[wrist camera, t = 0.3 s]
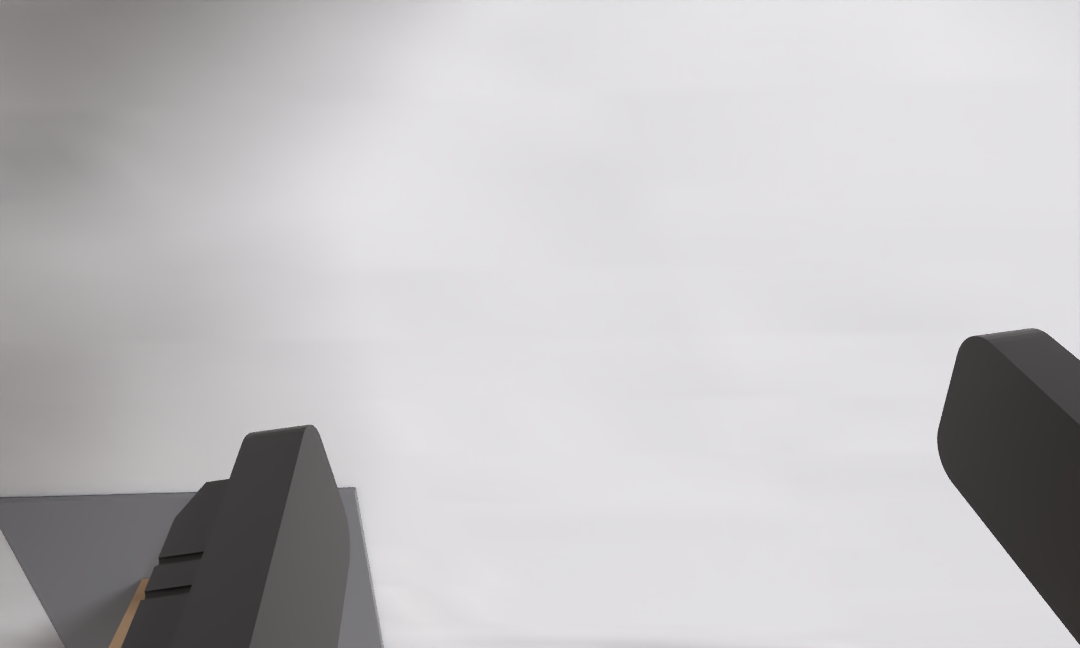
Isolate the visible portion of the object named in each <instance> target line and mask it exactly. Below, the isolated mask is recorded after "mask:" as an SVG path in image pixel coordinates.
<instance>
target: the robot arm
mask: <svg viewBox="0 0 1080 648" xmlns="http://www.w3.org/2000/svg"><path fill="white" fill-rule="evenodd" d="M937 443H938V451H939V456H940V459H941V462H942V465H943V467H944V470H945V472H946V474H947V475H948V477H949V479H950V480H951V482H952V483H953V484H954V485H955V487H956V488H957V489H958V490H959V492H960V493H961V494H962V496H963V497H964V498H965V499H966V501H967V502H968V503H969V504H970V506H971V507H972V508H973V510H974V511H975V512H976V513H977V515H978V516H979V517H980V518H981V520H982V521H983V522H984V524H985V525H986V526H987V527H988V529H989V530H990V531H991V532H992V534H993V535H994V536H995V538H996V539H997V540H998V541H999V543H1000V544H1001V545H1002V546H1003V548H1004V549H1005V550H1006V552H1007V553H1008V554H1009V555H1010V557H1011V558H1012V559H1013V560H1014V562H1015V563H1016V564H1017V566H1018V567H1019V568H1020V569H1021V571H1022V572H1023V573H1024V574H1025V576H1026V577H1027V578H1028V580H1029V581H1030V582H1031V583H1032V585H1033V586H1034V587H1035V588H1036V590H1037V591H1038V592H1039V594H1040V595H1041V596H1042V597H1043V599H1044V600H1045V601H1046V602H1047V604H1048V605H1049V606H1050V608H1051V609H1052V610H1053V611H1054V613H1055V614H1056V615H1057V616H1058V618H1059V619H1060V620H1061V622H1062V623H1063V624H1064V625H1065V627H1066V628H1067V629H1068V630H1069V632H1070V633H1071V634H1072V636H1073V637H1074V638H1075V639H1076V641H1077V642H1078V643H1079V644H1080V360H1079V359H1077V358H1076V357H1075V356H1074V355H1072V354H1071V353H1070V352H1069V351H1068V350H1066V349H1065V348H1064V347H1063V346H1061V345H1060V344H1059V343H1058V342H1057V341H1055V340H1054V339H1053V338H1052V337H1050V336H1049V335H1048V334H1046V333H1045V332H1043V331H1041V330H1039V329H1034V328H1031V329H1022V330H1015V331H1007V332H1000V333H993V334H986V335H978V336H972V337H969V338H967V339H966V340H965V341H964V342H963V343H962V344H961V346H960V348H959V351H958V354H957V357H956V361H955V365H954V369H953V373H952V377H951V381H950V385H949V389H948V393H947V397H946V401H945V405H944V408H943V412H942V416H941V420H940V424H939V428H938V435H937ZM158 559H159V565H157V566H155V567H154V569H153V571H152V574H151V576H150V579H149V581H148V583H147V586H146V588H145V591H144V592H145V599H144V600H140V603H139V605H138V608H137V610H136V612H135V615H134V617H133V620H132V622H131V625H130V627H129V629H128V632H127V634H126V637H125V639H124V641H123V644H122V646H121V648H337V647H338V640H339V633H340V626H341V619H342V612H343V605H344V598H345V591H346V585H347V578H348V571H349V563H350V534H349V526H348V520H347V516H346V512H345V509H344V506H343V503H342V500H341V497H340V494H339V491H338V488H337V485H336V482H335V479H334V476H333V473H332V470H331V467H330V464H329V461H328V458H327V455H326V452H325V449H324V446H323V443H322V440H321V437H320V435H319V433H318V431H317V429H316V428H315V427H314V426H313V425H304V426H297V427H289V428H282V429H275V430H267V431H260V432H253V433H249V434H248V435H246V437H245V438H244V440H243V442H242V445H241V448H240V451H239V453H238V456H237V459H236V462H235V465H234V468H233V470H232V473H231V476H230V479H226V480H219V481H212V482H206V483H205V484H204V485H203V487H202V488H201V489H200V490H199V491H198V492H197V493H196V494H195V496H194V497H193V498H192V499H191V500H190V501H189V502H188V504H187V505H186V506H185V507H184V508H183V509H182V510H181V511H180V513H179V514H178V515H177V516H176V517H175V518H174V521H173V523H172V526H171V528H170V530H169V533H168V535H167V538H166V540H165V542H164V545H163V547H162V550H161V552H160V554H159V557H158Z"/></svg>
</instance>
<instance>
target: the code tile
mask: <svg viewBox="0 0 1080 648" xmlns="http://www.w3.org/2000/svg"><path fill="white" fill-rule="evenodd" d="M338 491H339V494H340V497H341V500H342V503H343V506H344V509H345V512H346V516H347V520H348V526H349V534H350V563H349V571H348V578H347V585H346V591H345V598H344V605H343V612H342V619H341V626H340V633H339V640H338V647H337V648H384V647H383V641H382V636H381V630H380V624H379V618H378V613H377V607H376V601H375V596H374V590H373V584H372V578H371V573H370V567H369V561H368V555H367V550H366V544H365V538H364V533H363V527H362V521H361V515H360V510H359V504H358V498H357V492H356V488H338ZM196 493H197V492H193V493H159V494H125V495H91V496H57V497H23V498H0V529H1V530H2V532H3V534H4V536H5V538H6V540H7V541H8V543H9V545H10V547H11V549H12V551H13V552H14V554H15V556H16V558H17V560H18V562H19V563H20V565H21V567H22V569H23V571H24V573H25V574H26V576H27V578H28V580H29V582H30V584H31V585H32V587H33V589H34V591H35V593H36V595H37V596H38V598H39V600H40V602H41V604H42V606H43V607H44V609H45V611H46V613H47V615H48V617H49V618H50V620H51V622H52V624H53V626H54V628H55V629H56V631H57V633H58V635H59V637H60V639H61V640H62V642H63V644H64V646H65V648H109V646H110V644H111V642H112V640H113V638H114V635H115V633H116V631H117V629H118V627H119V625H120V623H121V621H122V619H123V617H124V615H125V613H126V611H127V609H128V607H129V605H130V603H131V601H132V599H133V597H134V595H135V592H136V590H137V588H138V586H139V584H140V582H141V580H142V579H149V578H150V576H151V574H152V571H153V569H154V567H155V566H157V565H159V559H158V557H159V554H160V552H161V550H162V547H163V545H164V542H165V540H166V538H167V535H168V533H169V530H170V528H171V526H172V523H173V521H174V518H175V517H176V516H177V515H178V514H179V513H180V511H181V510H182V509H183V508H184V507H185V506H186V505H187V504H188V502H189V501H190V500H191V499H192V498H193V497H194V496H195V494H196Z"/></svg>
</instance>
